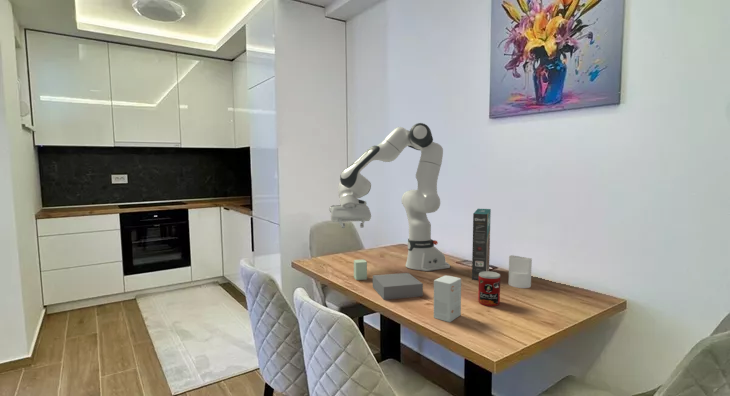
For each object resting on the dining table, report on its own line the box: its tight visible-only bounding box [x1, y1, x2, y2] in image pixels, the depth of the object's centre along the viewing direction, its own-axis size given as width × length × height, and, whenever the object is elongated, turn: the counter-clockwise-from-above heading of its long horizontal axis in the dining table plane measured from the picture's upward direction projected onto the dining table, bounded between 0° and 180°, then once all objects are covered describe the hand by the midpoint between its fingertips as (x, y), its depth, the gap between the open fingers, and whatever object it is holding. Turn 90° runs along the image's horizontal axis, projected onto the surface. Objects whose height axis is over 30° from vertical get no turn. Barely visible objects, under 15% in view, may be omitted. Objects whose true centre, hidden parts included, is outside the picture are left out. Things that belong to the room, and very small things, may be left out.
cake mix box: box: [471, 208, 492, 281], centre depth 178 cm, size 22×6×30 cm, turn 158°
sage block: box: [353, 259, 368, 281], centre depth 173 cm, size 5×5×8 cm
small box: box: [433, 274, 462, 323], centre depth 128 cm, size 8×6×13 cm
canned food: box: [477, 270, 501, 307], centre depth 141 cm, size 8×8×11 cm
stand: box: [372, 272, 424, 301], centre depth 154 cm, size 16×16×5 cm
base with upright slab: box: [507, 254, 533, 289], centre depth 163 cm, size 9×9×12 cm
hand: (352, 227), depth 186 cm, fingers open, 8 cm apart
